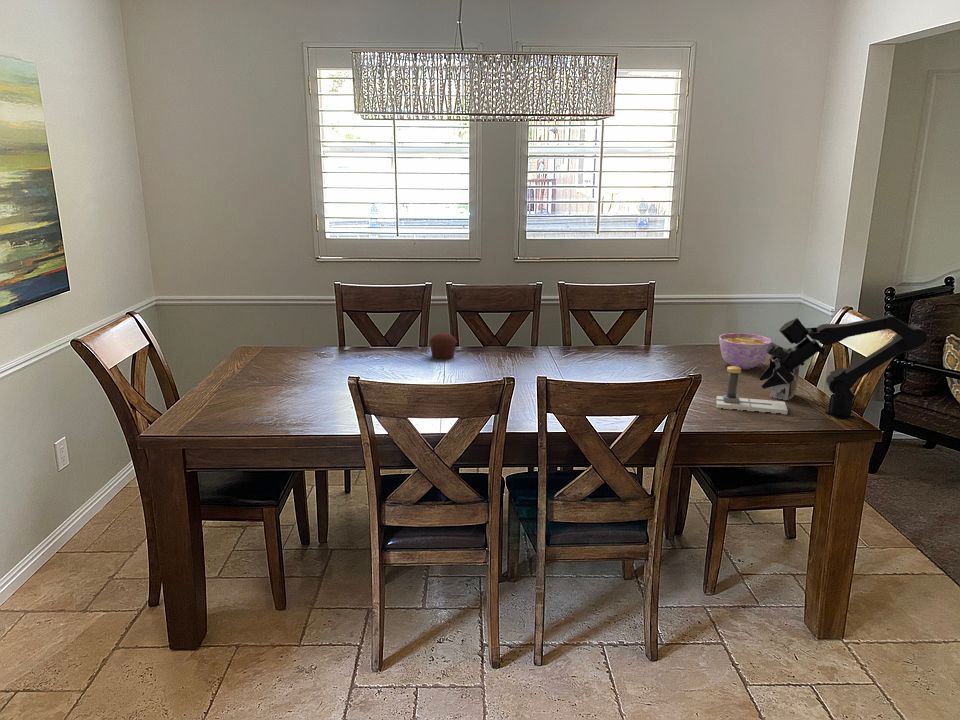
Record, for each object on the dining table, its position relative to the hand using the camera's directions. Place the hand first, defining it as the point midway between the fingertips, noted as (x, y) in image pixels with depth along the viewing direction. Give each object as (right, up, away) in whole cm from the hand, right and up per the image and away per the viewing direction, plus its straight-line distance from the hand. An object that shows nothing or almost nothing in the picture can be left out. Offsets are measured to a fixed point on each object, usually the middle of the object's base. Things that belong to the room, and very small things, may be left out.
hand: (761, 383), depth 244 cm
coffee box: (+13, -5, +15) cm, 21 cm away
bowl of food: (+12, +5, +51) cm, 53 cm away
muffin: (-109, +9, +63) cm, 126 cm away
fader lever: (-9, -6, +4) cm, 11 cm away
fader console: (-2, -8, +3) cm, 9 cm away
